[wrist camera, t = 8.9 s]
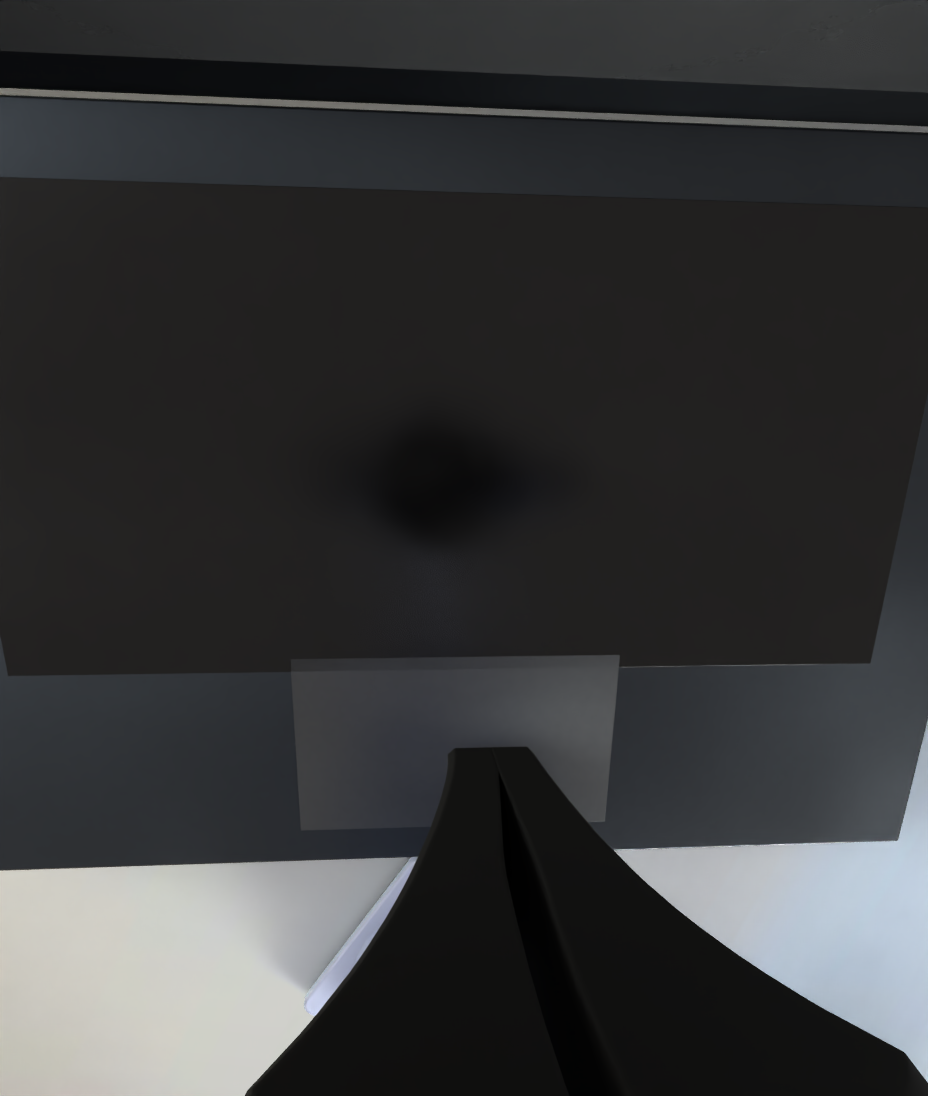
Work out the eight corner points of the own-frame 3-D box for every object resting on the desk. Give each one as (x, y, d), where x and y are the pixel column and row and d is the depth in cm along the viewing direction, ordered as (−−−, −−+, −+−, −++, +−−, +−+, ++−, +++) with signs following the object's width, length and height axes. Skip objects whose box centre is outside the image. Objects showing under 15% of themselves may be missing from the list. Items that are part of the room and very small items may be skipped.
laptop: (865, 806, 25) (900, 844, 23) (0, 832, 23) (-35, 875, 21) (1012, 155, 19) (1075, 136, 17) (-156, 109, 17) (-225, 82, 15)
